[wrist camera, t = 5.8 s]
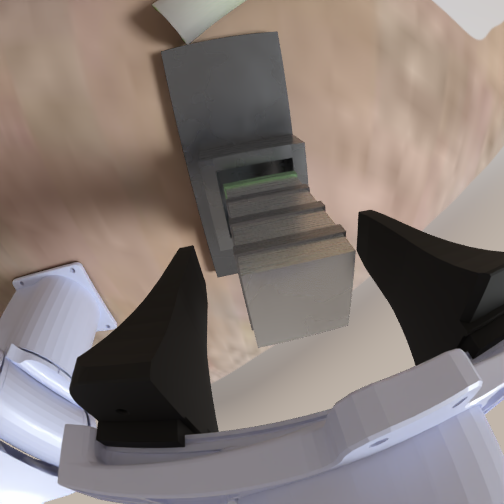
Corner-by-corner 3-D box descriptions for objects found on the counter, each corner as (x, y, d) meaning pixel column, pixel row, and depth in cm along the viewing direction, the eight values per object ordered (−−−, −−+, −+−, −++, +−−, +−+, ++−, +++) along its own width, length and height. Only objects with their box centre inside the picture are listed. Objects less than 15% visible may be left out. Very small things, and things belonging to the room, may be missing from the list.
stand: (217, 271, 23) (219, 306, 20) (163, 52, 14) (150, 45, 10) (300, 253, 24) (316, 285, 20) (274, 33, 14) (292, 21, 10)
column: (236, 244, 17) (255, 349, 10) (223, 184, 15) (237, 274, 8) (299, 231, 17) (350, 326, 11) (294, 170, 15) (358, 247, 8)
